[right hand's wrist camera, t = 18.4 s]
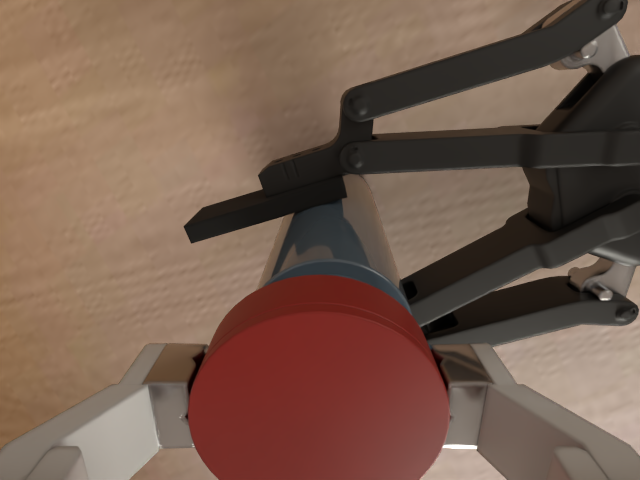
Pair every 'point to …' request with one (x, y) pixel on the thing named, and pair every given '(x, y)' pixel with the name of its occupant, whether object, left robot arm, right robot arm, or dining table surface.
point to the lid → (318, 387)
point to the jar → (337, 243)
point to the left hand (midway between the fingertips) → (222, 280)
